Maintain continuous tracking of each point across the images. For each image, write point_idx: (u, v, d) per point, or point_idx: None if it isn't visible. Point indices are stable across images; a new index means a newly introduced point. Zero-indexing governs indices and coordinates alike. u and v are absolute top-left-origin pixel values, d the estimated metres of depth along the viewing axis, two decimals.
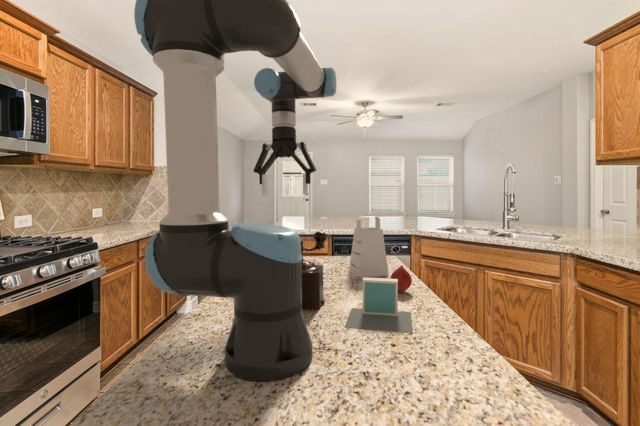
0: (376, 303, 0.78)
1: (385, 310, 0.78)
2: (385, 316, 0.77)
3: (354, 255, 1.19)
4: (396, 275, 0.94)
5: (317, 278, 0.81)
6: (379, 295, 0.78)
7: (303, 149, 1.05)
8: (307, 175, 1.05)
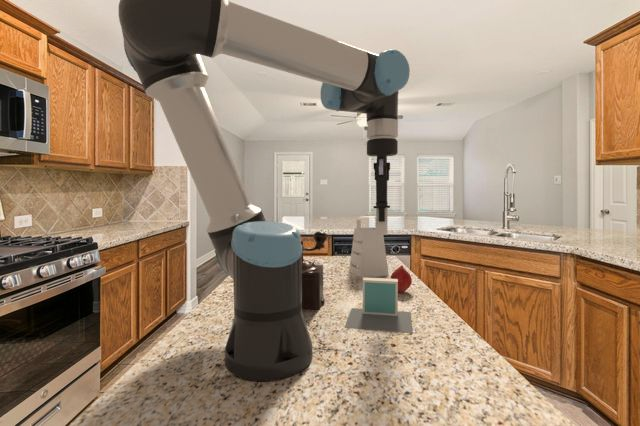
0: (376, 303, 0.78)
1: (385, 310, 0.78)
2: (385, 316, 0.77)
3: (354, 255, 1.19)
4: (396, 275, 0.94)
5: (317, 278, 0.81)
6: (379, 295, 0.78)
7: None
8: None
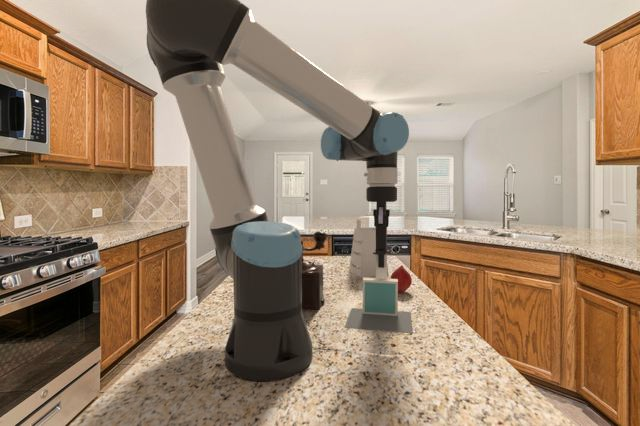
0: (376, 303, 0.78)
1: (385, 310, 0.78)
2: (385, 316, 0.77)
3: (354, 255, 1.19)
4: (396, 275, 0.94)
5: (317, 278, 0.81)
6: (379, 295, 0.78)
7: None
8: None
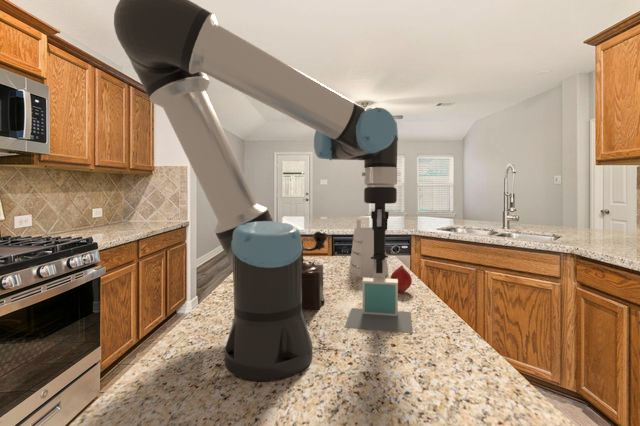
0: (376, 303, 0.78)
1: (385, 310, 0.78)
2: (385, 316, 0.77)
3: (354, 255, 1.19)
4: (396, 275, 0.94)
5: (317, 278, 0.81)
6: (379, 295, 0.78)
7: None
8: None
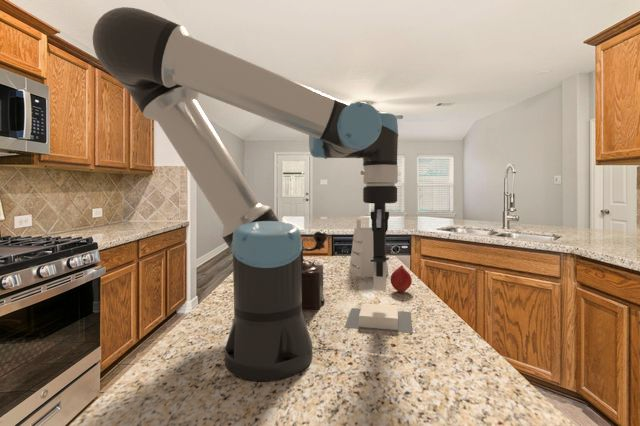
0: None
1: None
2: None
3: (354, 255, 1.19)
4: (396, 275, 0.94)
5: (317, 278, 0.81)
6: None
7: None
8: None
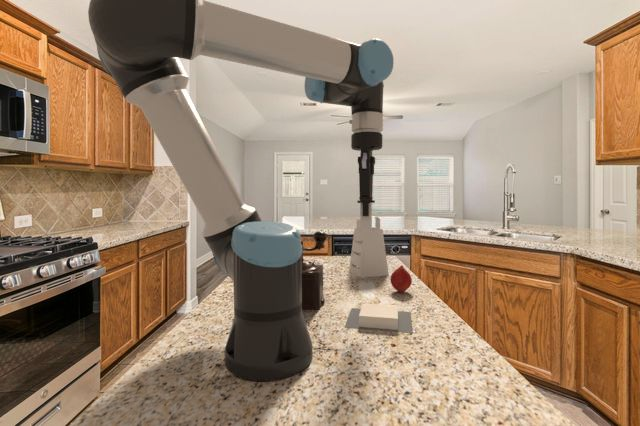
0: None
1: None
2: None
3: (354, 255, 1.19)
4: (396, 275, 0.94)
5: (317, 278, 0.81)
6: None
7: None
8: None
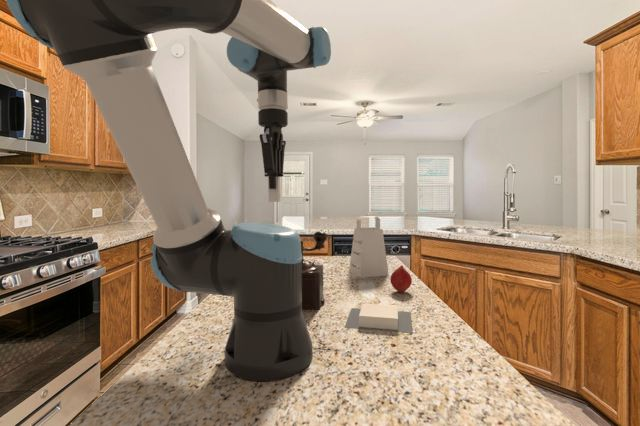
0: None
1: None
2: None
3: (354, 255, 1.19)
4: (396, 275, 0.94)
5: (317, 278, 0.81)
6: None
7: (284, 148, 0.92)
8: None
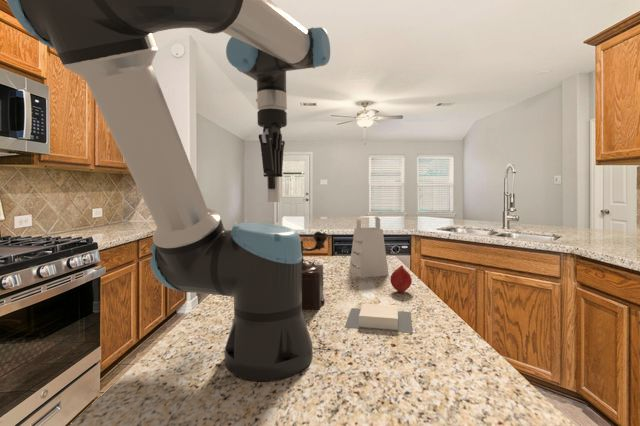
0: None
1: None
2: None
3: (354, 255, 1.19)
4: (396, 275, 0.94)
5: (317, 278, 0.81)
6: None
7: (283, 148, 0.92)
8: None
